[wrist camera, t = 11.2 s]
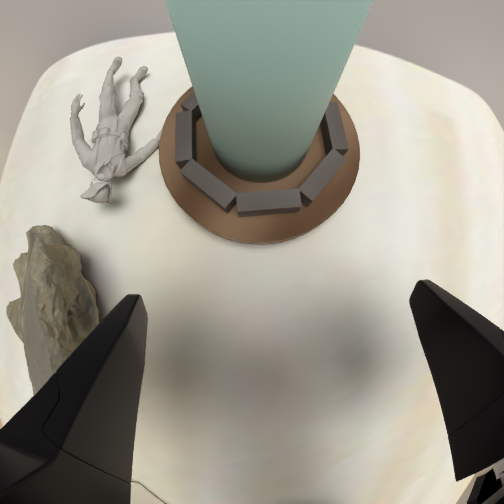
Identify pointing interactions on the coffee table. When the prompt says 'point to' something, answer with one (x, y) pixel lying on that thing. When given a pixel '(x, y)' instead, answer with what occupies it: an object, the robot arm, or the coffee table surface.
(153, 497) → the jar
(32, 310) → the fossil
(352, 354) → the coffee table surface
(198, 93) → the column
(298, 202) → the segmented ring tray
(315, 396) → the coffee table surface
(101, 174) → the soldier figure
